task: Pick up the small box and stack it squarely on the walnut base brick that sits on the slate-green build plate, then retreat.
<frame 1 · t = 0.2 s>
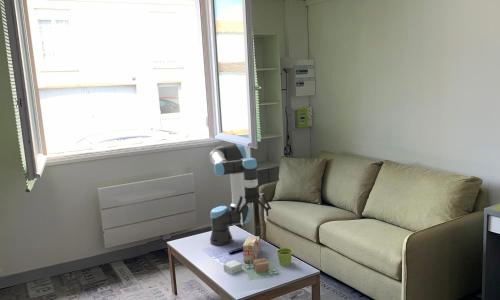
hand: (253, 223, 235), 27 cm above the table, fingers open, 13 cm apart
plant pot: (285, 265, 241), on the table
small box: (233, 272, 238), on the table
build plate: (261, 271, 235), on the table
base brick: (261, 269, 235), resting on build plate
stack of blocks: (252, 257, 255), on the table
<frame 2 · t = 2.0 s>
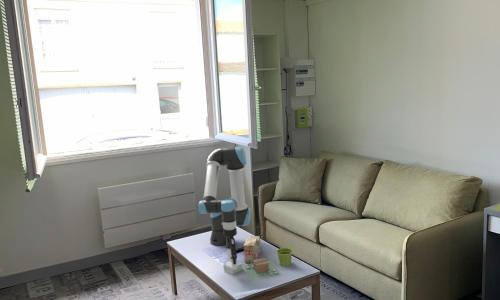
hand: (232, 264, 236), 5 cm above the table, fingers open, 13 cm apart
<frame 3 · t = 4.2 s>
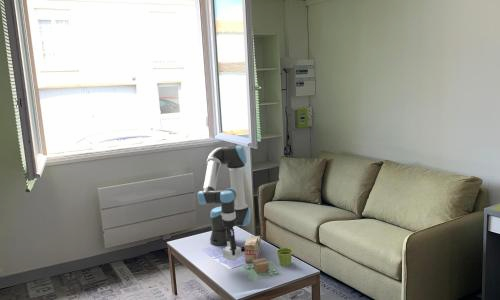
hand: (232, 255, 237), 9 cm above the table, fingers closed on small box, 10 cm apart
small box: (232, 256, 237), point 9 cm above the table, touching gripper
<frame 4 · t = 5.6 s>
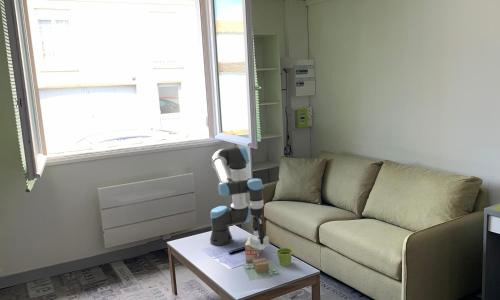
hand: (259, 245, 232), 16 cm above the table, fingers closed on small box, 10 cm apart
small box: (259, 246, 232), point 15 cm above the table, touching gripper
when the fingers open (7 cm above the table, at t = 7.6 s): small box stays where it is, resting on base brick.
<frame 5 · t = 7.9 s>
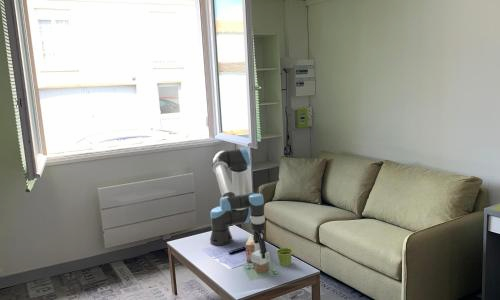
hand: (260, 258, 234), 8 cm above the table, fingers open, 13 cm apart
small box: (260, 261, 234), point 6 cm above the table, touching base brick
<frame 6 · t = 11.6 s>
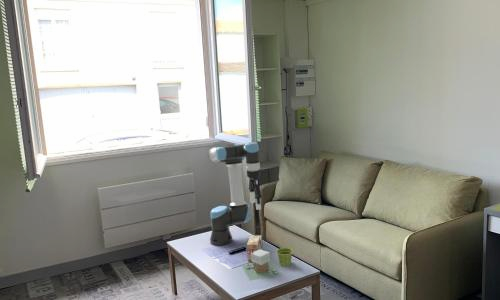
hand: (255, 205, 241), 35 cm above the table, fingers open, 13 cm apart
at the end: small box 0.1 cm from the target spot, point 6.0 cm above the table; small box tilted 0°; small box touching base brick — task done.
